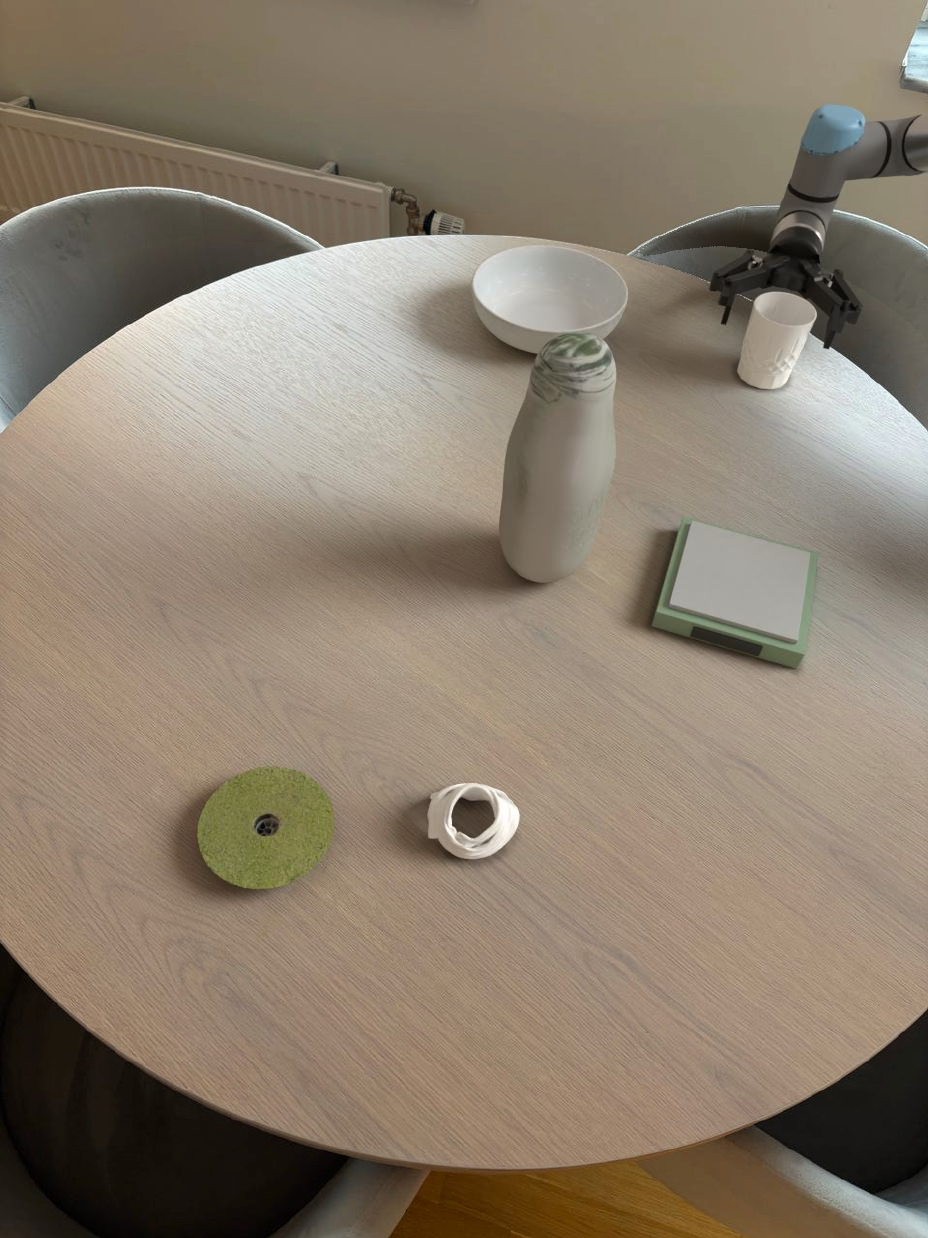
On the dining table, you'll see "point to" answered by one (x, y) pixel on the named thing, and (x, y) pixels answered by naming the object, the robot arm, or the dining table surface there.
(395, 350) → the dining table surface
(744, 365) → the white cup
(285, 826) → the green abrasive disc
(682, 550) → the kitchen scale
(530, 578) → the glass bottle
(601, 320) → the serving bowl
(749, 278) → the robot arm
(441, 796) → the white rolled strap
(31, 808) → the dining table surface
